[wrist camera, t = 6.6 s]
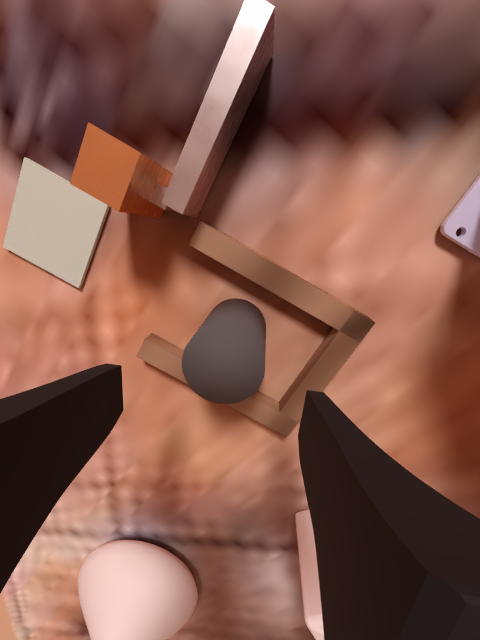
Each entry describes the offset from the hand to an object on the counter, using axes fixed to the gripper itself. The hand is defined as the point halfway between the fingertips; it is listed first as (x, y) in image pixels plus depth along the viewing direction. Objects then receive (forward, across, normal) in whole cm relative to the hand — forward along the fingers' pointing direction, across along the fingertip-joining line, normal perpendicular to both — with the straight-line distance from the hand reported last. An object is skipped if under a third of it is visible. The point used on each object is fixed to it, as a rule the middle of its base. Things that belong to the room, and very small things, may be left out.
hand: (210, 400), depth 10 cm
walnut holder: (+9, -1, 0) cm, 9 cm away
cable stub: (+9, 0, 0) cm, 9 cm away
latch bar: (+9, +3, -11) cm, 15 cm away
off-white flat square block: (+9, +12, -6) cm, 16 cm away
